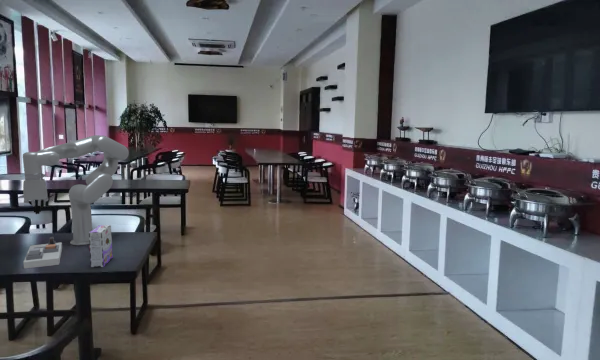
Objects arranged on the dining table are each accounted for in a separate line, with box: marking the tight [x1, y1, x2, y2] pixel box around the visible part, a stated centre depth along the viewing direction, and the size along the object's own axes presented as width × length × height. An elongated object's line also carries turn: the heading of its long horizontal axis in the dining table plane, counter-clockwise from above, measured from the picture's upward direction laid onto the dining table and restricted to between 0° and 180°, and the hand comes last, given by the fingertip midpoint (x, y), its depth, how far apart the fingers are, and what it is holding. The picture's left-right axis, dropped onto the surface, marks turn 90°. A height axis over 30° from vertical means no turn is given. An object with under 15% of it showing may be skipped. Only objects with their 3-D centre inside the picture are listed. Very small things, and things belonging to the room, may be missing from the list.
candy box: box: [88, 224, 114, 268], centre depth 212 cm, size 14×6×16 cm, turn 5°
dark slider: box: [47, 236, 57, 245], centre depth 230 cm, size 3×5×4 cm, turn 25°
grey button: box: [28, 248, 40, 256], centre depth 211 cm, size 4×4×2 cm
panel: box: [22, 242, 63, 270], centre depth 221 cm, size 14×30×5 cm, turn 25°
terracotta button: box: [46, 244, 56, 249], centre depth 222 cm, size 4×4×2 cm
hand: (37, 213), depth 228 cm, fingers closed
